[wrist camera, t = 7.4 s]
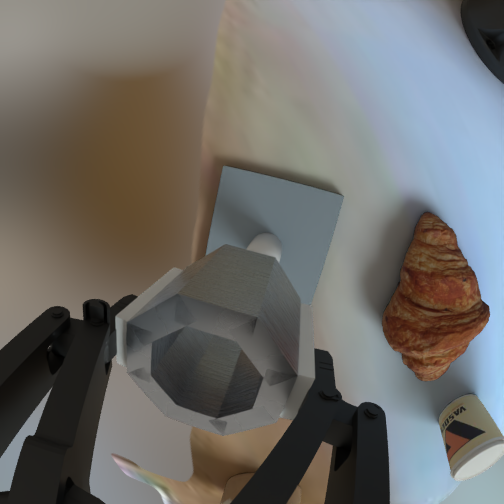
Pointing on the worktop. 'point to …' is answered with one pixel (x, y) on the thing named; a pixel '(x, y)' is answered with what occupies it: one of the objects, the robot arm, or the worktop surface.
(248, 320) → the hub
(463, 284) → the pastry
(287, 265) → the shaft block
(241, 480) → the vase
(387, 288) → the worktop surface
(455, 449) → the coffee cup
